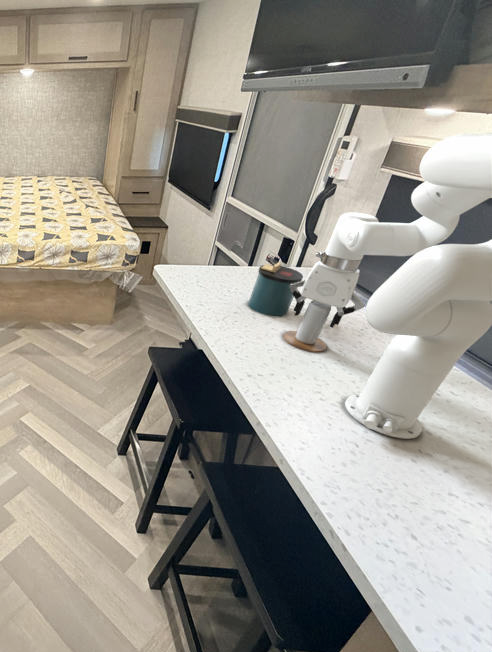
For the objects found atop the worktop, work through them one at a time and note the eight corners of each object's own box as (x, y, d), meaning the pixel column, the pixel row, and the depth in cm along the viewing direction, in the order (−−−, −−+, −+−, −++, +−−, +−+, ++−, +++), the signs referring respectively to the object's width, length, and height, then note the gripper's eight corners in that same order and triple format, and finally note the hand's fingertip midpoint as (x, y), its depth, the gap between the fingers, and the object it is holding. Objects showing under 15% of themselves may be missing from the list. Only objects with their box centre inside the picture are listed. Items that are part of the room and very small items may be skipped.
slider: (274, 272, 125) (277, 266, 124) (260, 268, 127) (262, 262, 126) (279, 269, 127) (281, 263, 126) (265, 265, 130) (267, 259, 129)
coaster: (320, 356, 108) (321, 355, 108) (278, 340, 114) (279, 339, 114) (330, 343, 113) (330, 341, 113) (289, 328, 120) (290, 327, 120)
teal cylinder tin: (281, 321, 124) (296, 283, 118) (241, 307, 132) (253, 271, 126) (293, 309, 131) (308, 272, 125) (254, 296, 139) (266, 261, 132)
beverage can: (296, 333, 117) (312, 298, 111) (316, 340, 114) (333, 304, 108) (292, 340, 114) (308, 304, 108) (313, 347, 111) (330, 310, 105)
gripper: (296, 255, 106) (274, 312, 114) (381, 276, 94) (350, 338, 102) (304, 248, 110) (282, 304, 118) (387, 268, 99) (356, 327, 107)
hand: (314, 319), depth 110 cm, fingers open, 7 cm apart
